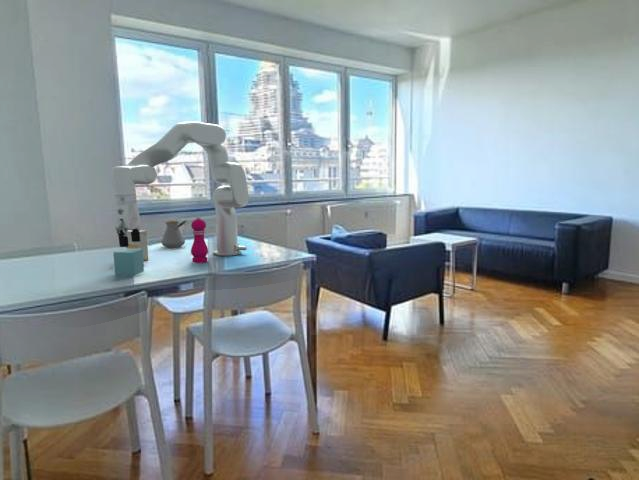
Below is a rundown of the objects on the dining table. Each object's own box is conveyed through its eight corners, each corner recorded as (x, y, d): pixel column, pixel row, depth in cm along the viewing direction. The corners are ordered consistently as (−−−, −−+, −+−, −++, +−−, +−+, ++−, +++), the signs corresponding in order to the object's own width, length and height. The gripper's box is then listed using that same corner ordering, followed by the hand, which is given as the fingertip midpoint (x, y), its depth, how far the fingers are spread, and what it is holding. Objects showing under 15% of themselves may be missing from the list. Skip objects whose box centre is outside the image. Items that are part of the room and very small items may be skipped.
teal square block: (143, 270, 181) (142, 248, 180) (134, 275, 174) (133, 252, 172) (124, 270, 182) (123, 248, 180) (115, 275, 174) (113, 252, 173)
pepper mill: (211, 260, 201) (210, 214, 198) (202, 264, 195) (200, 216, 191) (197, 259, 204) (195, 214, 200) (187, 262, 197) (185, 215, 194)
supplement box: (149, 259, 202) (147, 230, 200) (140, 262, 198) (138, 231, 196) (135, 258, 206) (133, 229, 204) (126, 260, 201) (124, 230, 199)
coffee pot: (157, 246, 234) (156, 217, 232) (179, 244, 242) (178, 215, 239) (176, 253, 218) (174, 221, 216) (198, 250, 226) (197, 219, 223)
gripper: (124, 202, 165) (129, 248, 168) (145, 196, 182) (149, 239, 185) (104, 202, 165) (109, 249, 168) (126, 197, 182) (131, 239, 185)
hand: (130, 244), depth 177 cm, fingers open, 9 cm apart
